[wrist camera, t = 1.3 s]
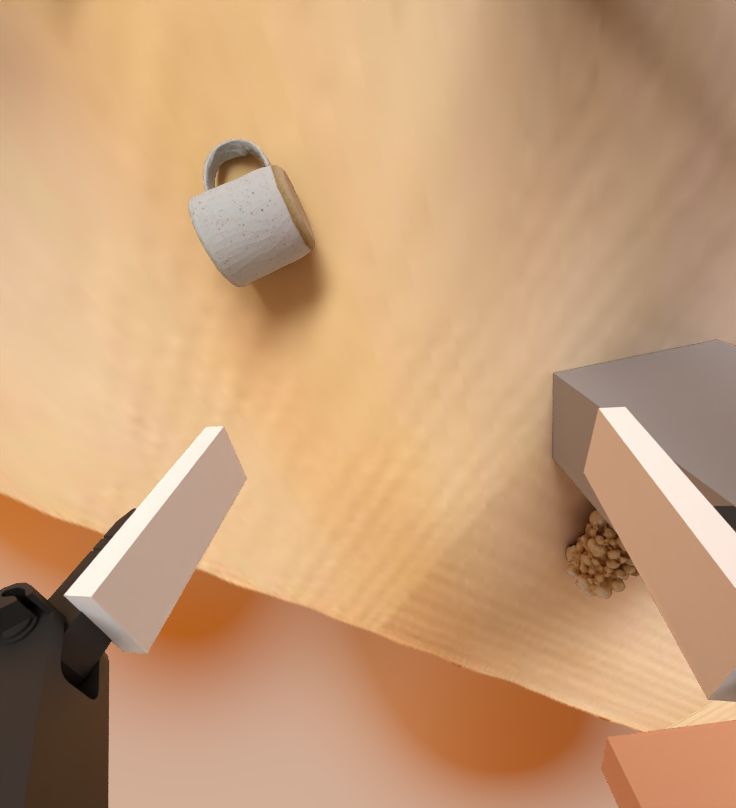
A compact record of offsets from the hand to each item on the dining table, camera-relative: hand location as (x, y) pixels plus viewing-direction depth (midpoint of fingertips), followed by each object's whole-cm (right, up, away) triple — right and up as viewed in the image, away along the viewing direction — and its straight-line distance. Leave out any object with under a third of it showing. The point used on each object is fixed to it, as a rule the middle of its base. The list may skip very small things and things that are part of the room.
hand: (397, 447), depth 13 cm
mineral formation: (+34, -16, +39) cm, 54 cm away
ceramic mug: (-11, +20, +21) cm, 30 cm away
